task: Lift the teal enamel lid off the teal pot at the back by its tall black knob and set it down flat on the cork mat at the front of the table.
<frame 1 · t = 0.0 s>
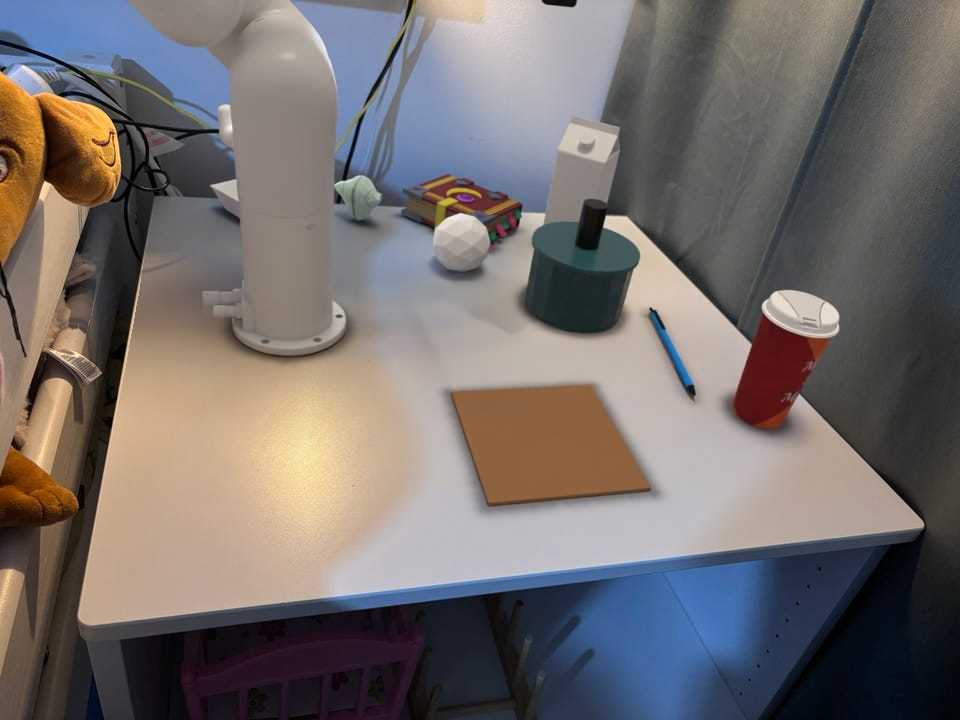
decorative book: (463, 225, 112), on the table
lid: (585, 249, 90), point 8 cm above the table, touching pot
geometric ball: (458, 268, 100), on the table
pot: (571, 307, 95), on the table
mat: (544, 439, 72), on the table
paper cup: (756, 413, 81), on the table
milk carton: (568, 246, 110), on the table
figurine: (248, 213, 106), on the table
pen: (669, 353, 88), on the table
pale green seashell: (359, 220, 108), on the table
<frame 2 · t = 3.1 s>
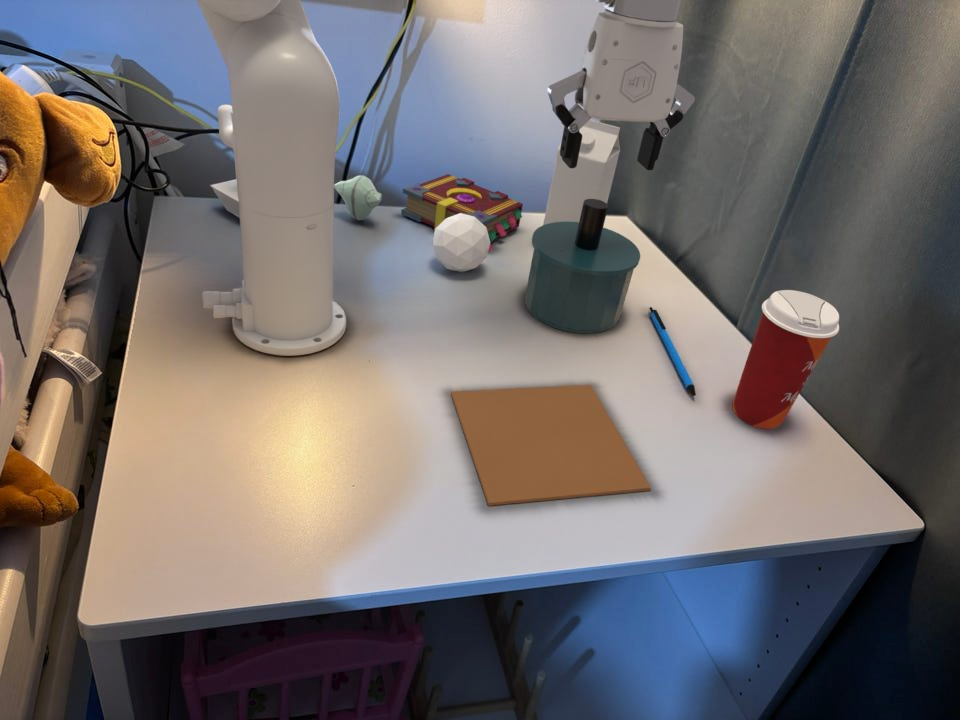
hand: (607, 165, 84), 19 cm above the table, tool pointing down, fingers open, 9 cm apart
nothing on the table moved.
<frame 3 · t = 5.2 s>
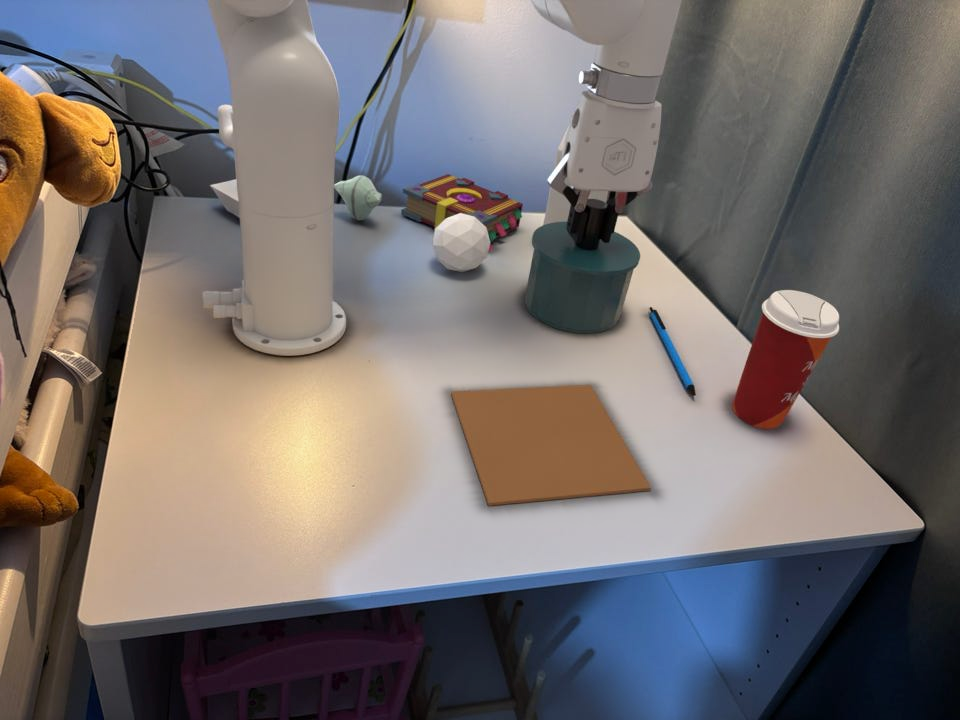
hand: (588, 236, 89), 10 cm above the table, tool pointing down, fingers closed on lid, 3 cm apart
lid: (585, 249, 90), point 9 cm above the table, touching gripper, pot
everything else where it was.
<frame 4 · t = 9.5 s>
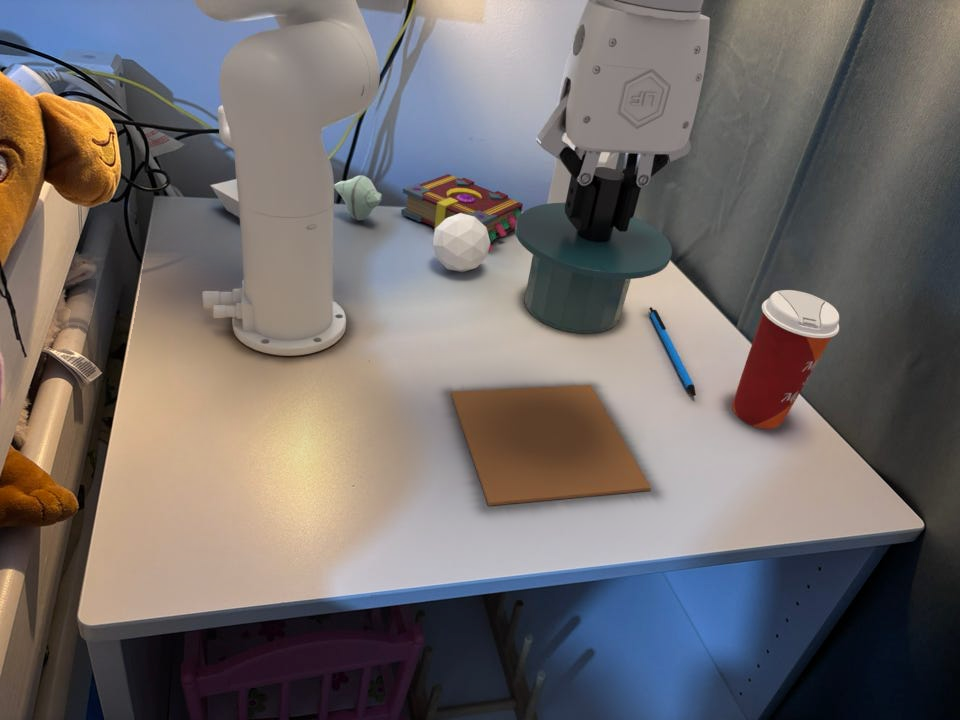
hand: (596, 222, 61), 22 cm above the table, tool pointing down, fingers closed on lid, 3 cm apart
lid: (592, 240, 62), point 21 cm above the table, touching gripper
everything else where it was.
when the fingers open (3 cm above the table, at t = 14.1 s): lid stays where it is, resting on mat.
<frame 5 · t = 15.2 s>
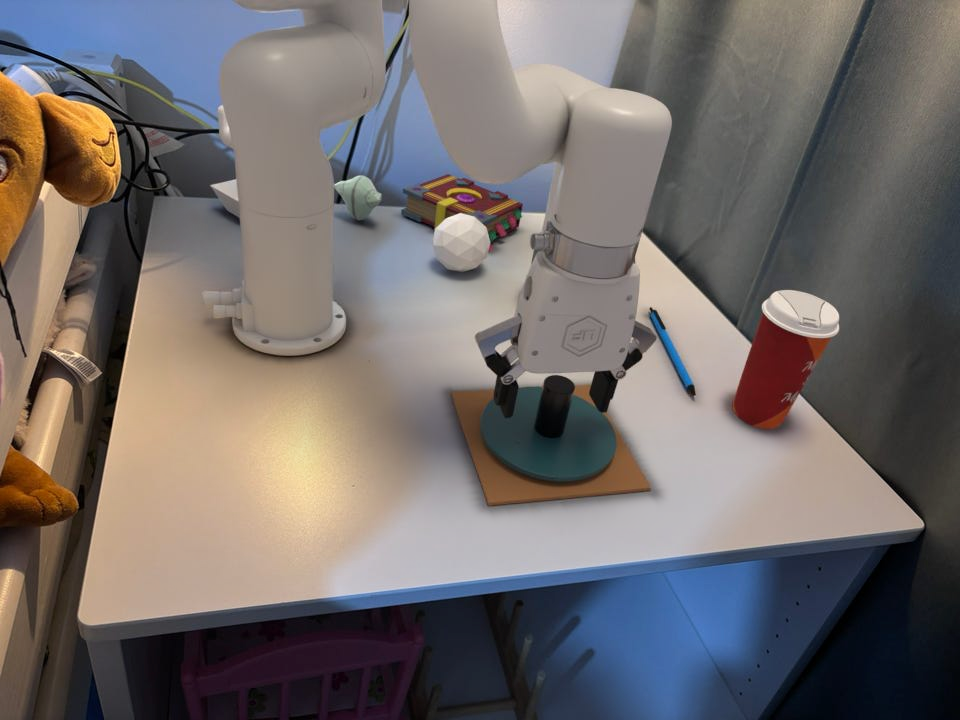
hand: (551, 406, 70), 4 cm above the table, tool pointing down, fingers open, 9 cm apart
lid: (547, 432, 71), point 1 cm above the table, touching mat
everything else where it was.
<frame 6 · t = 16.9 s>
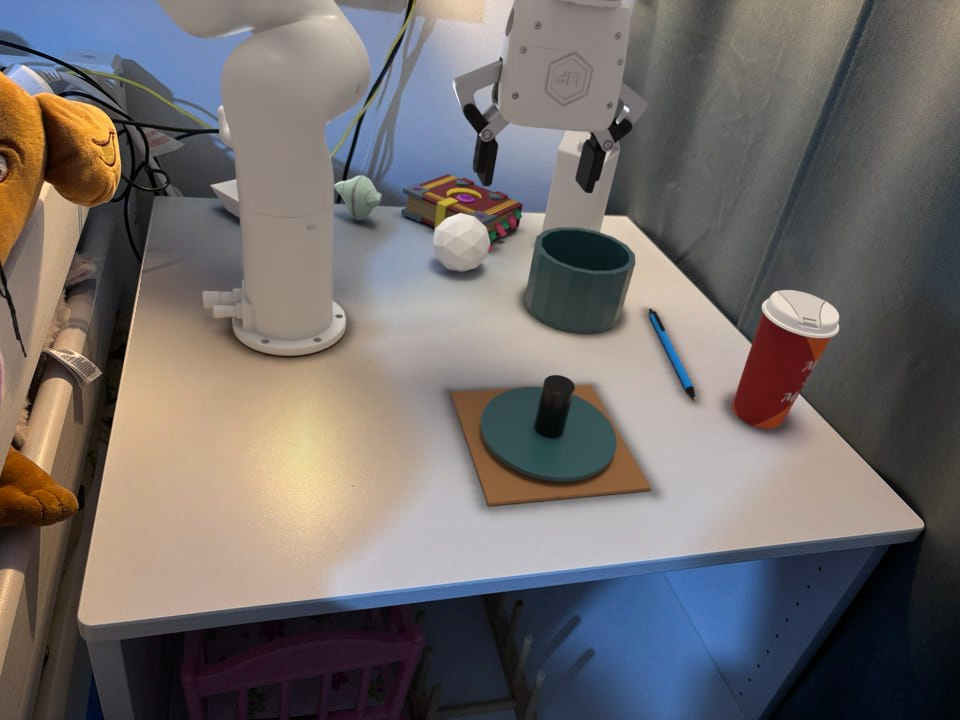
hand: (534, 183, 66), 23 cm above the table, tool pointing down, fingers open, 9 cm apart
nothing on the table moved.
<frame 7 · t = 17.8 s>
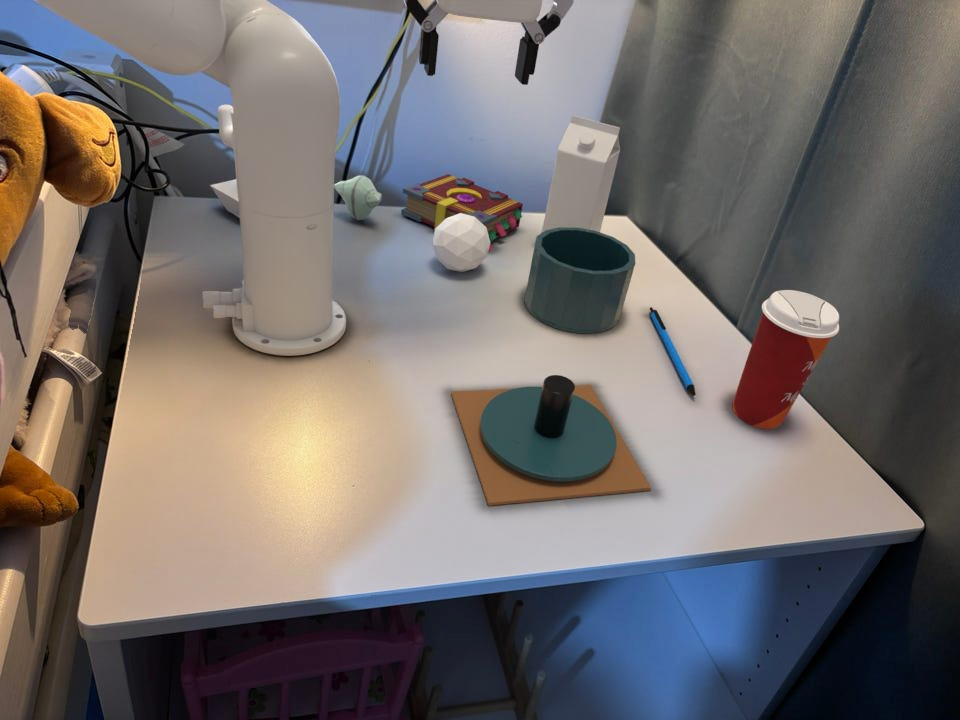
hand: (475, 76, 73), 28 cm above the table, tool pointing down, fingers open, 9 cm apart
nothing on the table moved.
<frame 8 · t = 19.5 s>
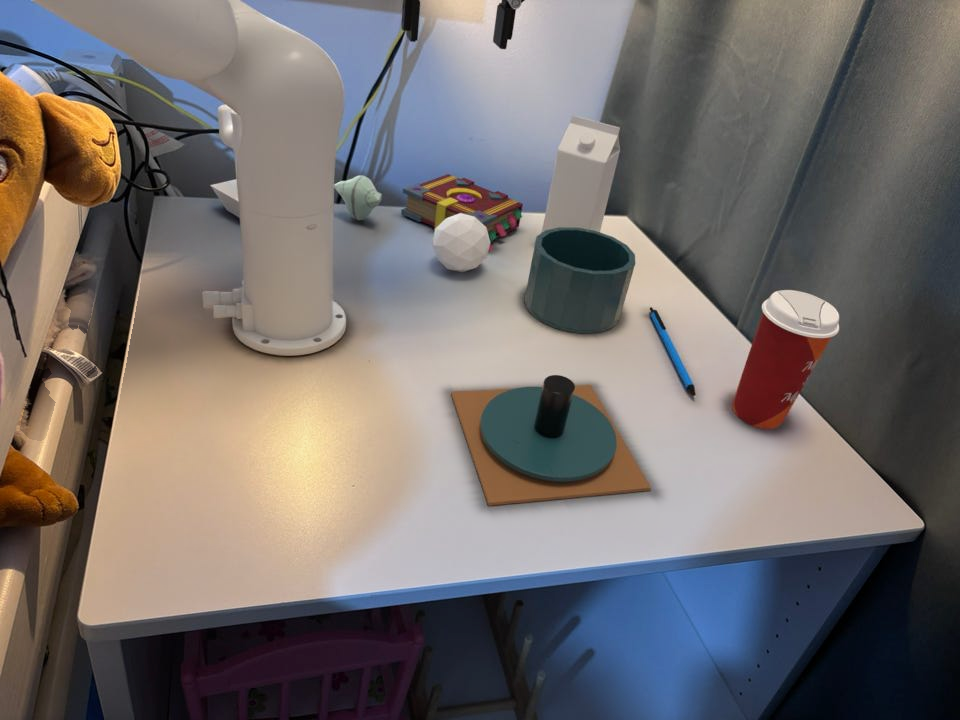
hand: (456, 42, 76), 30 cm above the table, tool pointing down, fingers open, 9 cm apart
nothing on the table moved.
at the end: lid inside the target area on the mat (0.1 cm from its centre), point 1.0 cm above the mat's base; lid tilted 0°; the gripper is holding nothing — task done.
